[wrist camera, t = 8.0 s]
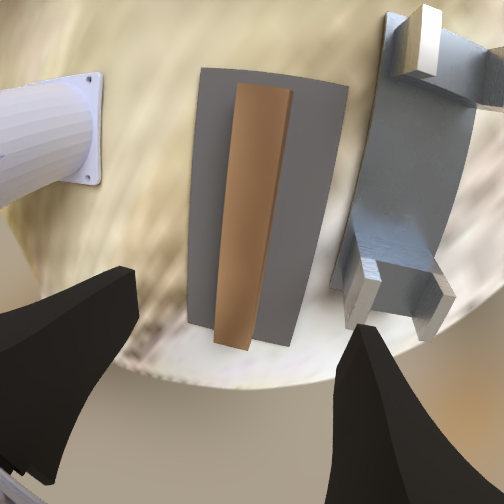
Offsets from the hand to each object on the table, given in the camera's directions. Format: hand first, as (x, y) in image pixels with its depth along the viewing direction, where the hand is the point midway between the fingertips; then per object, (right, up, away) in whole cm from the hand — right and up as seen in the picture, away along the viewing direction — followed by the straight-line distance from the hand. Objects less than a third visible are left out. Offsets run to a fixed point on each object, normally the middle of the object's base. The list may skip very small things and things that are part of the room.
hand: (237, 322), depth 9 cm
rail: (0, +4, +9) cm, 10 cm away
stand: (+9, +7, +6) cm, 13 cm away
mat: (+1, +4, +9) cm, 10 cm away
